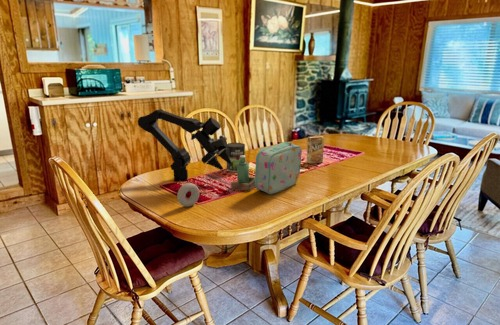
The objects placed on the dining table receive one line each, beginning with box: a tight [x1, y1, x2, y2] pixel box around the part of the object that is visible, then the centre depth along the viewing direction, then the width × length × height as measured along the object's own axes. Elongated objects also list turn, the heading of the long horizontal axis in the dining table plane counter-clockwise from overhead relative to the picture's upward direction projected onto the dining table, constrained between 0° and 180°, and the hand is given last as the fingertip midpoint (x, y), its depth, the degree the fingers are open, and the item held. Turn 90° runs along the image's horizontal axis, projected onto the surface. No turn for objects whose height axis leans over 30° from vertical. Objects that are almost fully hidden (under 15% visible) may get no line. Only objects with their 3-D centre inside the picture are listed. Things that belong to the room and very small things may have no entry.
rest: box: [230, 176, 255, 192], centre depth 168 cm, size 10×11×3 cm
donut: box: [176, 182, 200, 208], centre depth 144 cm, size 10×4×10 cm, turn 131°
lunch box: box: [254, 141, 302, 195], centre depth 164 cm, size 27×10×21 cm, turn 141°
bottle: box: [236, 154, 250, 184], centre depth 167 cm, size 6×6×14 cm
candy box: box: [306, 135, 325, 164], centre depth 206 cm, size 9×4×15 cm, turn 107°
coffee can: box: [226, 142, 246, 173], centre depth 193 cm, size 10×10×14 cm
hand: (226, 166), depth 169 cm, fingers open, 9 cm apart
